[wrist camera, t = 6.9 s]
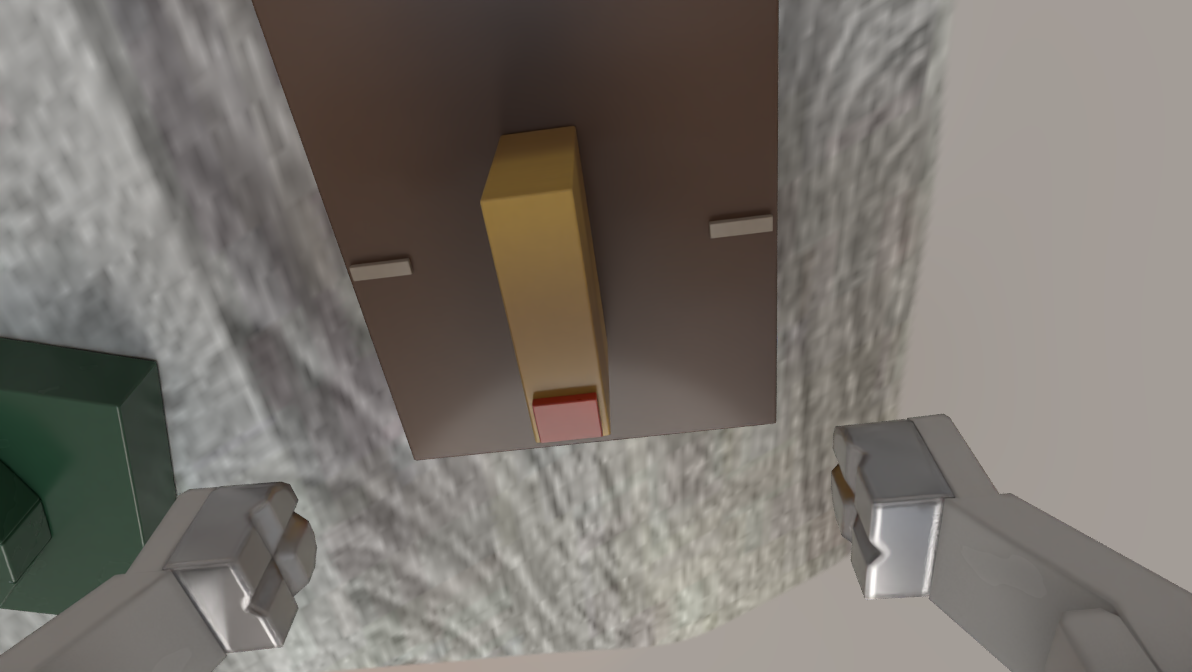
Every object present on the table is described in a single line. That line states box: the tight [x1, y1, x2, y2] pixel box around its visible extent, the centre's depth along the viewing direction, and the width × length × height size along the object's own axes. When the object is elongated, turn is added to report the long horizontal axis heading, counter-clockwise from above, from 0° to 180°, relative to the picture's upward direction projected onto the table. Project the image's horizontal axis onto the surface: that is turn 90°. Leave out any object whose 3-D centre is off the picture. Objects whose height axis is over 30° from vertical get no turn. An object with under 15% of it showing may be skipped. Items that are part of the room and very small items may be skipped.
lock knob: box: [480, 126, 611, 443], centre depth 15 cm, size 6×2×4 cm, turn 7°
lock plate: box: [252, 0, 779, 460], centre depth 18 cm, size 10×12×3 cm
